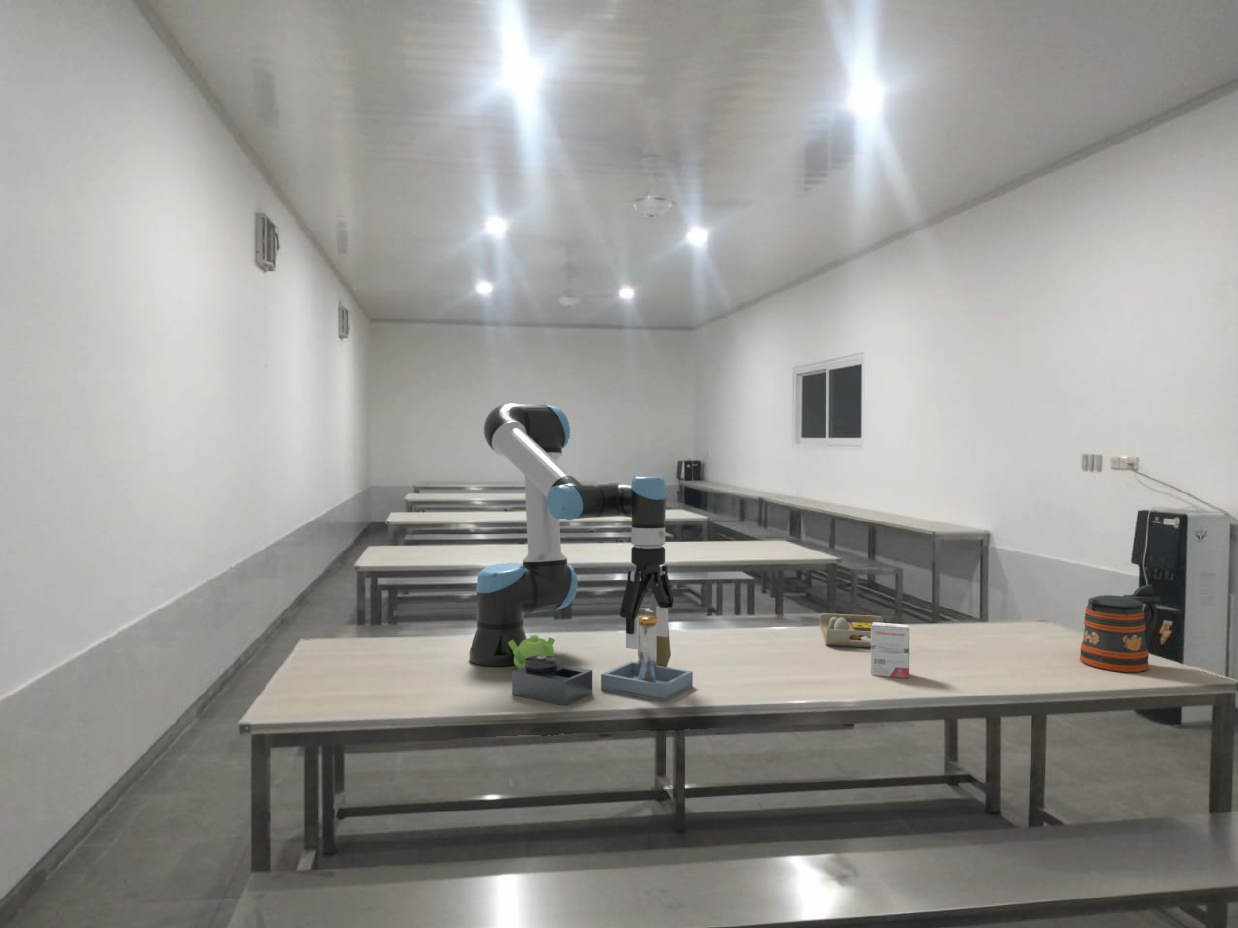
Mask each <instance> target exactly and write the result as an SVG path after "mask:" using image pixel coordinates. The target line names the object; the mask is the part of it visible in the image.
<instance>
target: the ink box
mask: <svg viewBox="0 0 1238 928" xmlns="http://www.w3.org/2000/svg"><path fill="white" fill-rule="evenodd" d="M870 674H871V676H879V677H892V678H902V679H908V678H910V625H909V624H901V623H890V622H889V623H888V622H886V623H885V622H883V623H877V622H872V623H871V648H870Z"/></svg>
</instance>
